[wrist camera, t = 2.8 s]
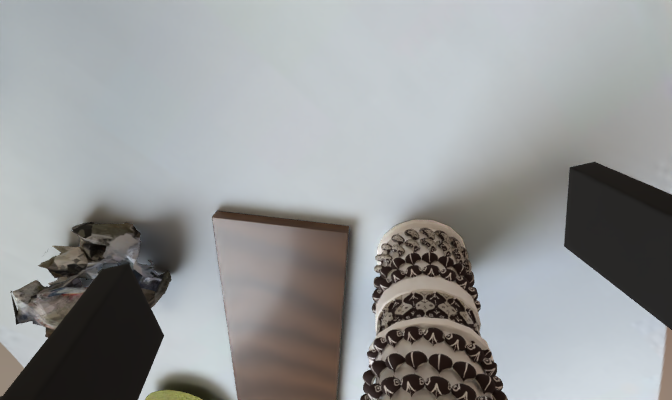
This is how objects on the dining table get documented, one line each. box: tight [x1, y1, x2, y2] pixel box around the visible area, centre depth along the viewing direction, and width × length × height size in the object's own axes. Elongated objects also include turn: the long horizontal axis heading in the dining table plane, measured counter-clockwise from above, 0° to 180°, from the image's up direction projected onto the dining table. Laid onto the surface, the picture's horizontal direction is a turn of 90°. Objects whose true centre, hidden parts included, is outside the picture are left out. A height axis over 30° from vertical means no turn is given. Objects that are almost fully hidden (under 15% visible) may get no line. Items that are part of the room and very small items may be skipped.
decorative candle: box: [360, 219, 508, 400], centre depth 26 cm, size 9×9×25 cm
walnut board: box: [212, 211, 349, 400], centre depth 44 cm, size 30×13×1 cm, turn 177°
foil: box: [10, 222, 171, 338], centre depth 41 cm, size 12×11×15 cm
